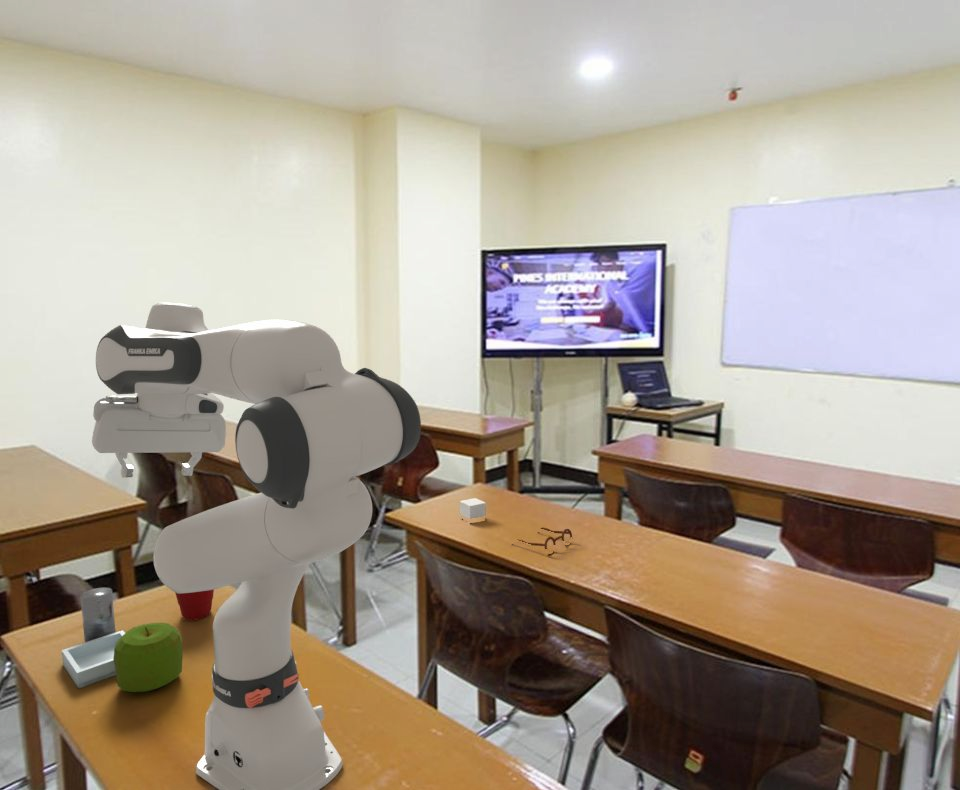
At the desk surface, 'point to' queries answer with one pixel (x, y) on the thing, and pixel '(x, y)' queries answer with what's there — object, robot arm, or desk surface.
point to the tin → (97, 613)
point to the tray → (91, 660)
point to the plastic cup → (195, 604)
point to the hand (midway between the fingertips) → (157, 475)
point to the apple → (148, 657)
